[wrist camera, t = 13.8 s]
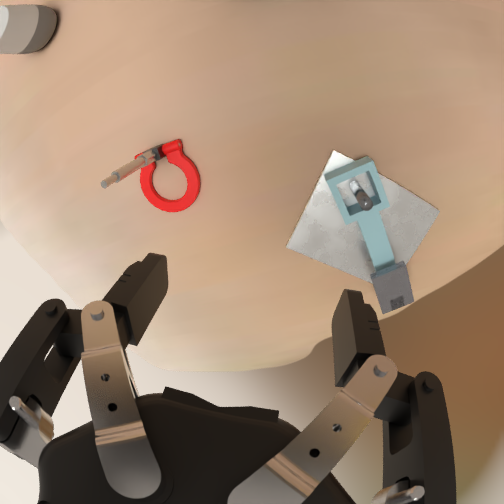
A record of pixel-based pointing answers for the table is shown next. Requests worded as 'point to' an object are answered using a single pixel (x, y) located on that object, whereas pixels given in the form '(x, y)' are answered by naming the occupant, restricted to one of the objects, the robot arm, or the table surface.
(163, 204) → the tow hook
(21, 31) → the smart speaker
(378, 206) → the link
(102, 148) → the table surface
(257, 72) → the table surface
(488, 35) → the table surface
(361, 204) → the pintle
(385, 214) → the board
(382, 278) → the block
